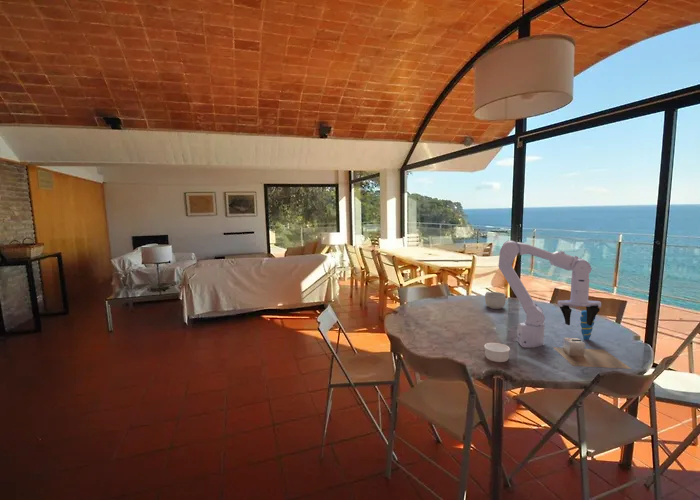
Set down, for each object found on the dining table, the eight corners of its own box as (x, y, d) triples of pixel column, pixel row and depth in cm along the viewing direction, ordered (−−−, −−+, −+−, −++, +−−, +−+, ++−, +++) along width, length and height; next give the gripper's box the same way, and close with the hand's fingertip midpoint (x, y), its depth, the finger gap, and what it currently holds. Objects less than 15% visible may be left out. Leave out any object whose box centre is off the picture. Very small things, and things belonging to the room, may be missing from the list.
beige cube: (569, 355, 124) (570, 341, 123) (563, 350, 129) (563, 336, 128) (584, 356, 123) (585, 342, 123) (577, 351, 128) (578, 337, 127)
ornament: (579, 339, 144) (581, 304, 142) (594, 342, 140) (596, 306, 139) (577, 343, 140) (580, 307, 138) (593, 345, 136) (595, 309, 135)
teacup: (508, 310, 187) (509, 296, 186) (489, 310, 187) (489, 296, 186) (498, 303, 201) (498, 290, 200) (479, 303, 201) (480, 290, 200)
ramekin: (481, 359, 126) (481, 348, 125) (486, 351, 133) (486, 340, 133) (507, 365, 121) (508, 353, 120) (511, 356, 128) (511, 345, 128)
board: (572, 369, 116) (573, 354, 116) (552, 351, 132) (553, 337, 131) (631, 373, 113) (632, 357, 113) (604, 353, 129) (605, 339, 128)
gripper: (563, 292, 127) (562, 327, 128) (606, 292, 125) (605, 328, 126) (555, 288, 134) (554, 321, 135) (596, 288, 132) (594, 322, 133)
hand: (578, 324), depth 131 cm, fingers open, 7 cm apart
